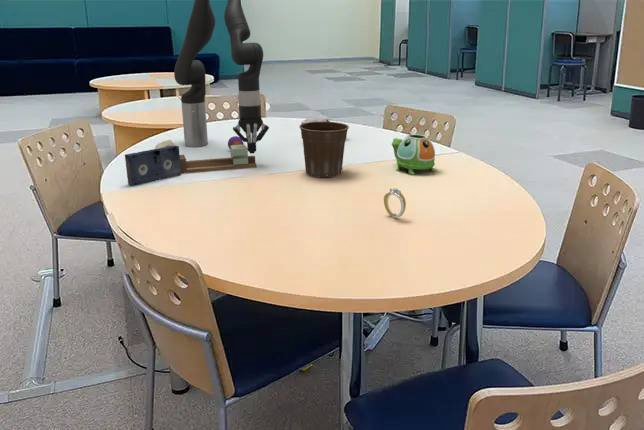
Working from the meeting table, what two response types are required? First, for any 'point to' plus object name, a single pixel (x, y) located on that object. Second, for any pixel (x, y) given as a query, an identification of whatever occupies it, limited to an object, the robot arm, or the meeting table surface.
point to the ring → (401, 198)
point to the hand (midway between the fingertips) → (252, 152)
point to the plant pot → (323, 147)
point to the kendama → (235, 141)
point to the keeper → (239, 154)
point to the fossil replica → (165, 144)
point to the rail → (213, 164)
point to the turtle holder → (414, 153)
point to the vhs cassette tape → (152, 165)
